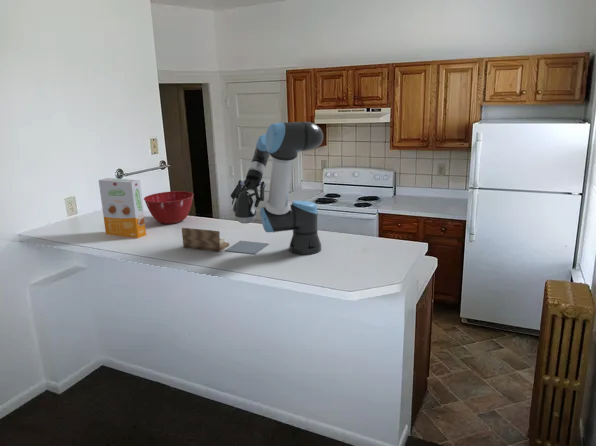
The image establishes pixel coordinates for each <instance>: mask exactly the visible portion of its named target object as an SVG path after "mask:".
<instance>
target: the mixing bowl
mask: <svg viewBox="0 0 596 446" xmlns="http://www.w3.org/2000/svg"><path fill="white" fill-rule="evenodd" d="M193 197H194V193H192V192H190V191H183V190H182V191H181V190H177V191H176V190H175V191H173V190H172V191H162V192H158V193H157V192H155V193H152V194H149V195H147V196H146V195H145V197H144V198H143V200H144V202H145V205H146V207H147V209H148V211H149V213H150V214H151V216H152V218H153V219H154V220H156V221H157V222H158V223H160V224H163V225H173V224H178V223H179V224H180V223H181V222H184V220H185V219H187V217H188V215H189V213H190V210H191V209H192V208H191V207H192V204H193Z"/></svg>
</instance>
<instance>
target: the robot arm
mask: <svg viewBox="0 0 596 446" xmlns="http://www.w3.org/2000/svg"><path fill="white" fill-rule="evenodd" d="M323 141H324V132H323V130H322V129H321V127H319V125H317V124H316V123H313V122H310V121H293V122H292V121H291V122H282V121H281V122H276V123H275V122H274V123H271V124H270V125H269V126H268V127H267V129H266V133H265V134H262V135H260V136H259V137H258V139H257V141H256V146H255V149H254V153H253V156H252V159H251V162H250V164H249V168H248V171H247V173H246V176H245V179H244V181H243V180H241V179H239V180H238V182H237V185H236V186H235V188H234V190H233V191H232V192H231V194H230V198H231V199H232V202H231V208H230V210H231V211H232V213H235V205H236V201H237V198H238V196H239V194H240V193H241V192H242V191H247V192H248V191H250V190H252V191H254V192H253V193H255V195H254V196H255V198H253V201H254V202H253V205H252V208H251V212H252V214H254V212H255V209H256V210H257V208H258V207H259V204H260V202H264V201H265V188H266V183H265V181H264V180H263V181H262V179H263V175H264V173H265V171H266V170H265V169H266V166H267V164H268V160H269V158H270V157H271V158H272V161H271V172H270V184H269V193H268V194H269V195H268V199H267V201H266V202H265V203H264V207H260V209H259V215H260V221H261V224H262V228H263V230H264V231H265V232H266V233H279V232H286V231H292V236H291V240H290V243H289V251H290V252H291V253H293V254H297V255H314V254H316V253H319V252H321V251H322V242H321V240H320V237H319V233H318V206H317V204H316V203H315V202H312V201H307V200H292V202H291V203H290V202H289V196H290V189H291V187H290V186H291V179H292V171H293V162H294V160H295V159H297V157H298V153H300V152H306V151H312V150H315V149H317V148H319V147H320V146H321V145H322V143H323ZM259 186H260V189H259V190H260V191H259V190H258V187H259Z"/></svg>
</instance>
